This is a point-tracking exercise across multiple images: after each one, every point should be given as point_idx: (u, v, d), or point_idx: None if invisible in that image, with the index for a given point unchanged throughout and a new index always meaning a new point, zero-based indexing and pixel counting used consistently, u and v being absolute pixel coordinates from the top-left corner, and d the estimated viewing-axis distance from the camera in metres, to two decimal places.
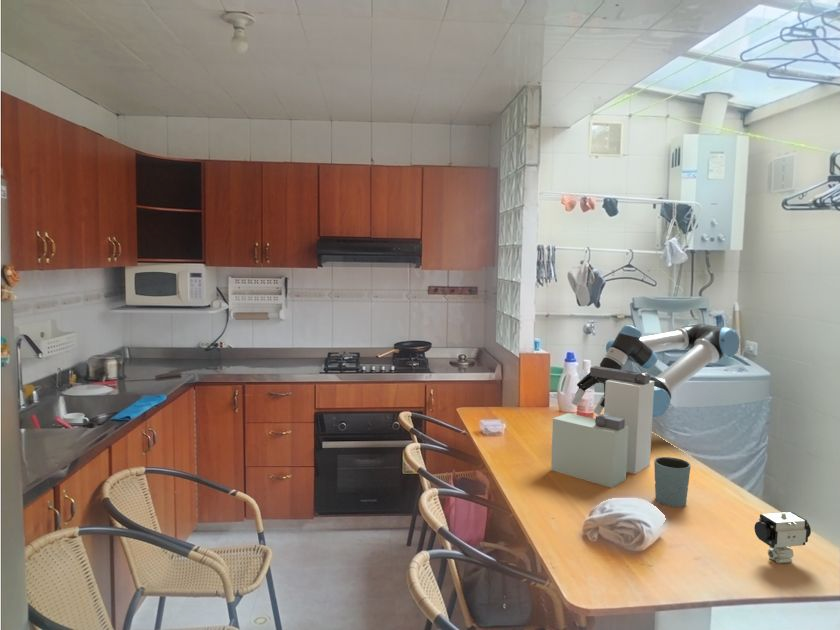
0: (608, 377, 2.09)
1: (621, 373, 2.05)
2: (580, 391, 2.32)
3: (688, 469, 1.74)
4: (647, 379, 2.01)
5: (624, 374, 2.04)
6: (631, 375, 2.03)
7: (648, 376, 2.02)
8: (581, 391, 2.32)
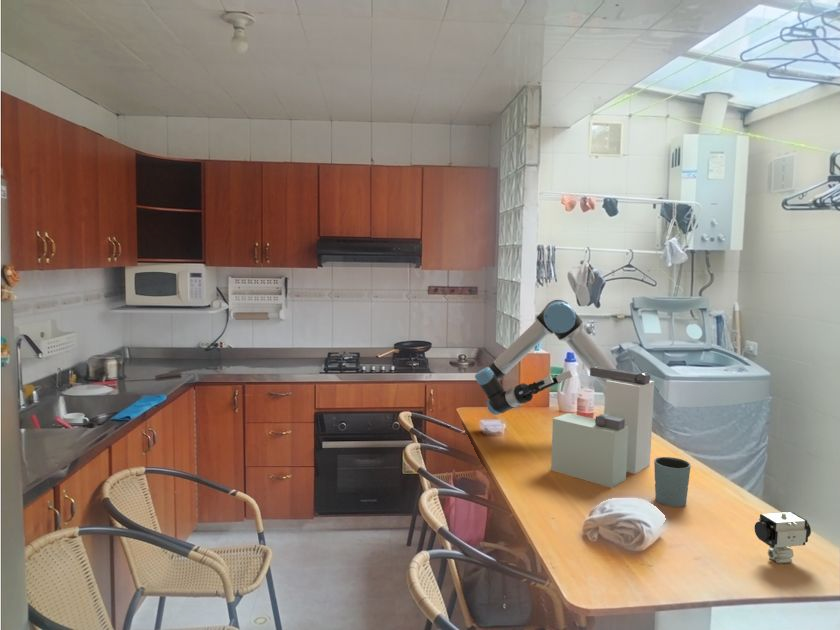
0: (608, 377, 2.09)
1: (621, 373, 2.05)
2: (559, 380, 2.32)
3: (688, 469, 1.74)
4: (647, 379, 2.01)
5: (624, 374, 2.04)
6: (631, 375, 2.03)
7: (648, 376, 2.02)
8: (558, 380, 2.32)
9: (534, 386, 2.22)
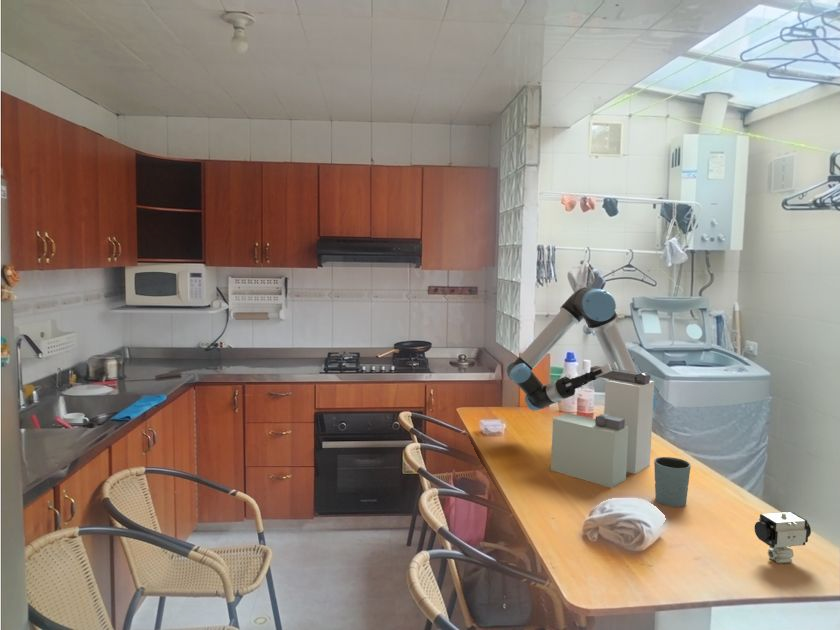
0: (608, 377, 2.09)
1: (621, 373, 2.05)
2: None
3: (688, 469, 1.74)
4: (647, 379, 2.01)
5: (625, 374, 2.04)
6: (631, 375, 2.03)
7: (648, 376, 2.02)
8: None
9: (591, 375, 2.11)
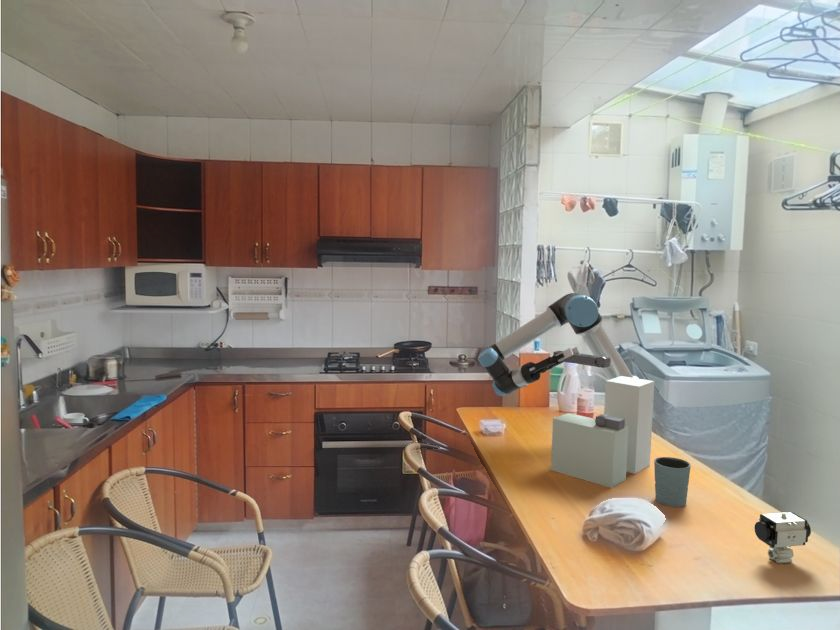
0: (570, 361, 2.12)
1: (582, 357, 2.08)
2: None
3: (688, 469, 1.74)
4: (607, 362, 2.04)
5: (585, 357, 2.07)
6: (591, 358, 2.06)
7: (608, 359, 2.04)
8: None
9: (553, 359, 2.13)
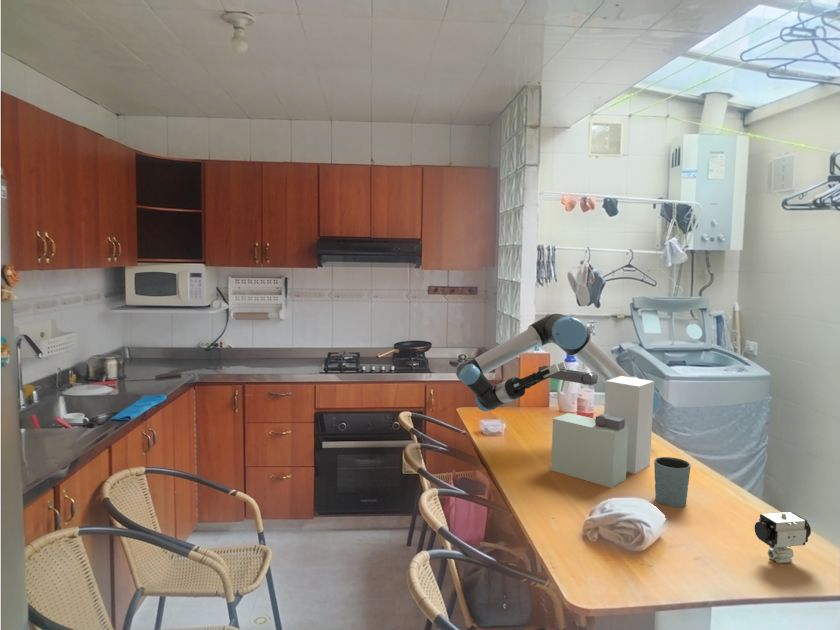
0: (556, 377, 2.03)
1: (568, 373, 1.99)
2: None
3: (688, 469, 1.74)
4: (594, 379, 1.95)
5: (571, 374, 1.98)
6: (578, 375, 1.97)
7: (595, 376, 1.95)
8: None
9: (538, 375, 2.04)
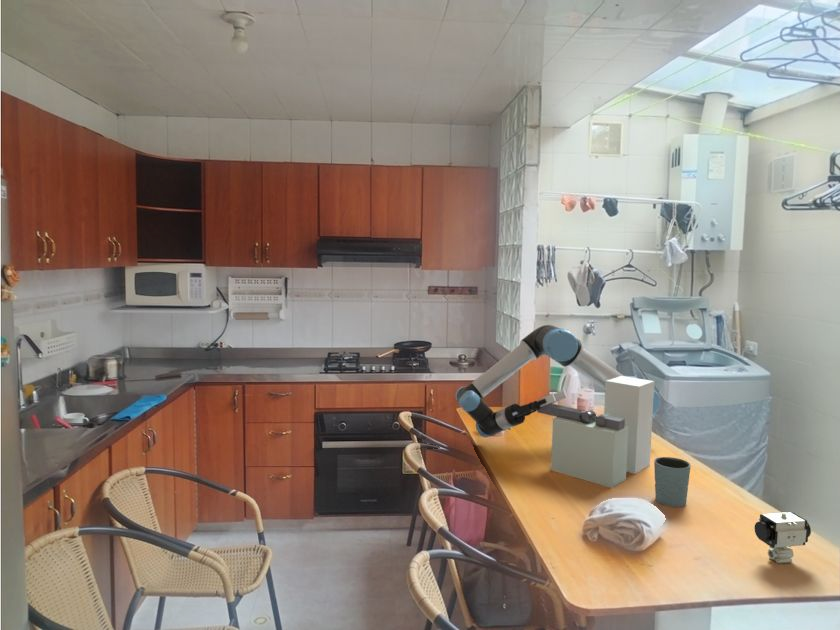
0: (554, 414, 2.04)
1: (567, 411, 2.01)
2: None
3: (688, 469, 1.74)
4: (592, 418, 1.96)
5: (570, 412, 2.00)
6: (576, 414, 1.98)
7: (593, 415, 1.97)
8: None
9: (535, 405, 2.05)
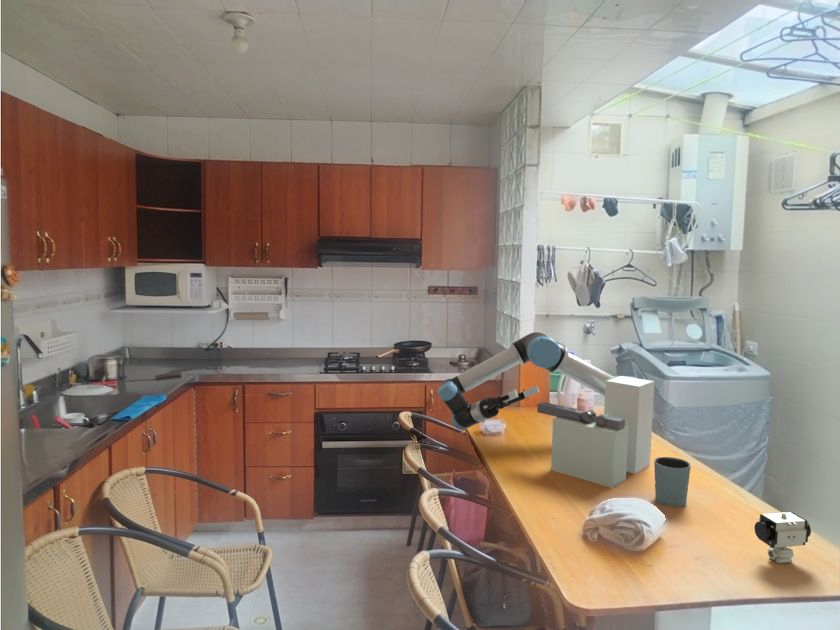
0: (554, 414, 2.04)
1: (567, 411, 2.01)
2: (526, 395, 2.22)
3: (688, 469, 1.74)
4: (592, 418, 1.96)
5: (570, 412, 2.00)
6: (576, 414, 1.98)
7: (593, 415, 1.97)
8: (525, 395, 2.22)
9: (498, 400, 2.12)
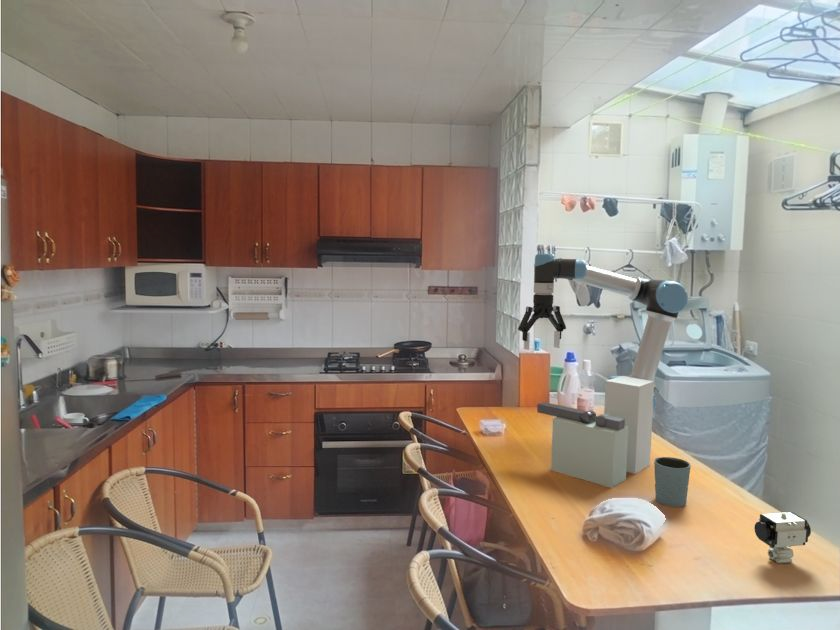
0: (554, 414, 2.04)
1: (567, 411, 2.01)
2: None
3: (688, 469, 1.74)
4: (592, 418, 1.96)
5: (570, 412, 2.00)
6: (576, 414, 1.98)
7: (593, 415, 1.97)
8: None
9: None
